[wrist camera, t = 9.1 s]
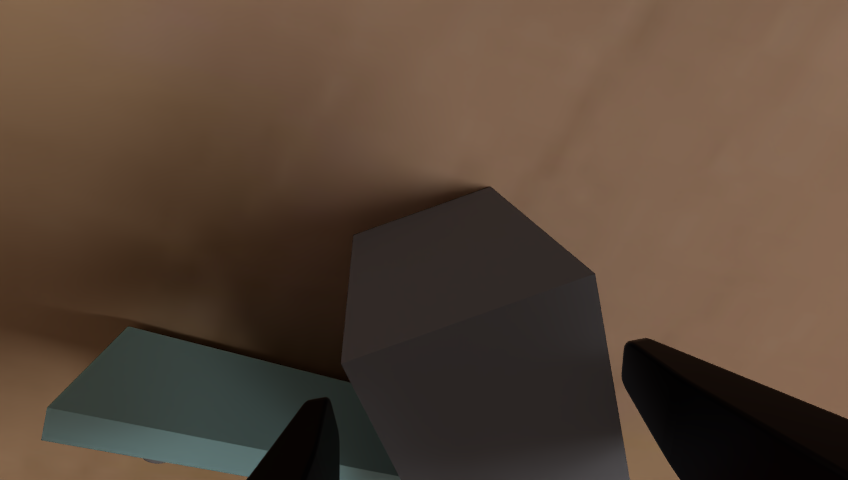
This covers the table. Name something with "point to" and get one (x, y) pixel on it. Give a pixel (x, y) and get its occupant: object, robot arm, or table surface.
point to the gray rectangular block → (480, 348)
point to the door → (203, 408)
